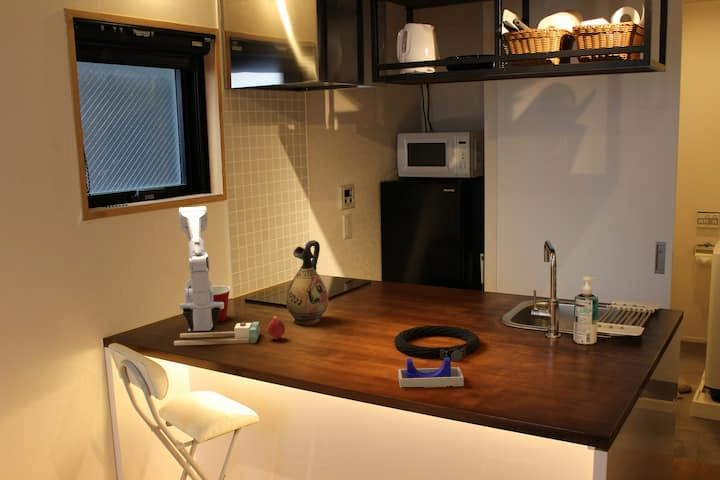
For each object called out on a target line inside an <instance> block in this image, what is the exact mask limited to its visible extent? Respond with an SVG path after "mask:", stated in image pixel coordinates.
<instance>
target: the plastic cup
mask: <svg viewBox="0 0 720 480" xmlns="http://www.w3.org/2000/svg"><path fill="white" fill-rule="evenodd" d="M212 287H213V298H214V299H213V301H212V302H224V308H223V309H221V311H220V313H219V316H218V320H217V322H222V321H223V322H224V321H225V320H226V319H227V312H228V305H229V298H230V297H229V296H230V291H231V289H232V288H231V287H230V286H228V285H212ZM212 310H213V309H211V311H212ZM212 322H213V318H212Z"/></svg>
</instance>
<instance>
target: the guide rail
mask: <svg viewBox="0 0 720 480" xmlns="http://www.w3.org/2000/svg"><path fill="white" fill-rule="evenodd" d="M260 332H261V331H260V321H253V322H252V326H251V328H250V330H249V335H250V338H241V339H235V338H225V337H235V331H214V332H213V331H212V332H211V331H209V332H206V331H205V332H182V333H180V334H179V339H180V340H174V341H173V345H174V346H200V345H203V346H205V345H206V346H207V345H231V344H232V345H233V344H256V343H257V341H258V339H259V336H260V335H261V334H260ZM216 337H217V338H216ZM220 337H221V338H220ZM223 337H224V338H223ZM191 338H195V339H191ZM196 338H210V339H196ZM211 338H216V339H211ZM181 339H182V340H181ZM183 339H185V340H183ZM186 339H188V340H186ZM189 339H190V340H189Z"/></svg>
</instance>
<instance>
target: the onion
mask: <svg viewBox="0 0 720 480" xmlns="http://www.w3.org/2000/svg"><path fill="white" fill-rule="evenodd" d="M285 327H286V326H285V324H284V323H283V321H282V320H281V319H279V318H278V317H277V316H273V319H272V320H271V321H270V322H269V323H268V326H267V333H268V334H269V336H271V337H272V338H273V340H276V341H277V340H278V339H280V338H281V337H283V336H284V334H285V333H286V328H285Z"/></svg>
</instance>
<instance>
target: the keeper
mask: <svg viewBox="0 0 720 480" xmlns="http://www.w3.org/2000/svg"><path fill="white" fill-rule="evenodd" d="M252 324H253V322H245V321H244V322H239V323H238V322H237V323H236V324H235V327H234V331H233V332H235V336H234V339H241V338H250V335H249V330H250V328H251V326H252Z"/></svg>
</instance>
